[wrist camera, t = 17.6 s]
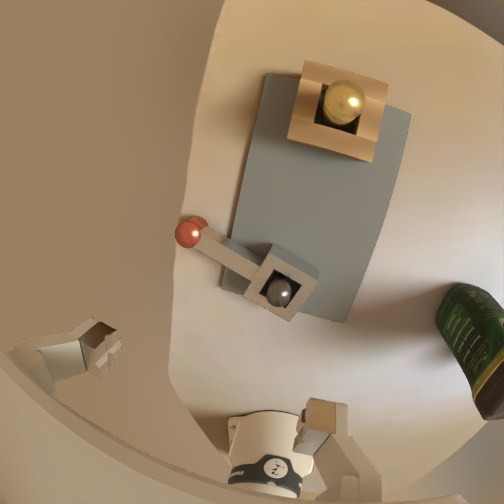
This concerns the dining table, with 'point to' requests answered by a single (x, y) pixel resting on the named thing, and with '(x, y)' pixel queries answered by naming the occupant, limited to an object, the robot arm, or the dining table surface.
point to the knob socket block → (252, 265)
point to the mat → (314, 200)
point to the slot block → (331, 139)
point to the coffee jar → (476, 344)
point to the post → (279, 290)
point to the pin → (342, 104)
